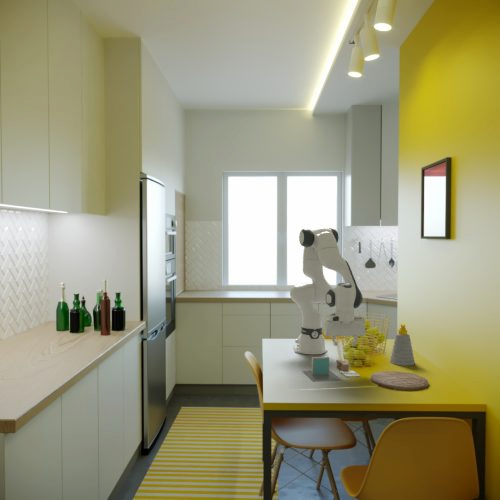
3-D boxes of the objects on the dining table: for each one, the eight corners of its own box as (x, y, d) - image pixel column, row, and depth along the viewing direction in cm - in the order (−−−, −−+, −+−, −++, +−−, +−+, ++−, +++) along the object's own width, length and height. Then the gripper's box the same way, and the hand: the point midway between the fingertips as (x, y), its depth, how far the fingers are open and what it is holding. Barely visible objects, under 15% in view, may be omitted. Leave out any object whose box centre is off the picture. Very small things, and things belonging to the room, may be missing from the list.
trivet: (359, 377, 224) (359, 373, 224) (403, 373, 233) (403, 369, 233) (393, 393, 201) (393, 389, 201) (440, 388, 210) (440, 383, 210)
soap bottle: (389, 364, 248) (390, 325, 248) (390, 359, 260) (391, 321, 260) (414, 366, 244) (415, 326, 244) (414, 361, 256) (415, 323, 256)
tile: (311, 374, 226) (311, 357, 226) (327, 373, 227) (327, 356, 227) (312, 375, 224) (312, 358, 224) (329, 374, 226) (329, 357, 226)
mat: (301, 372, 231) (301, 371, 231) (329, 370, 234) (329, 369, 234) (313, 382, 214) (313, 381, 214) (343, 381, 216) (343, 380, 216)
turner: (332, 368, 240) (332, 360, 240) (345, 367, 241) (345, 359, 241) (346, 378, 222) (346, 369, 222) (360, 377, 223) (360, 369, 223)
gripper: (362, 315, 238) (362, 343, 238) (323, 316, 234) (322, 344, 235) (367, 317, 232) (367, 345, 232) (327, 318, 228) (327, 347, 228)
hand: (344, 345), depth 233 cm, fingers open, 8 cm apart
